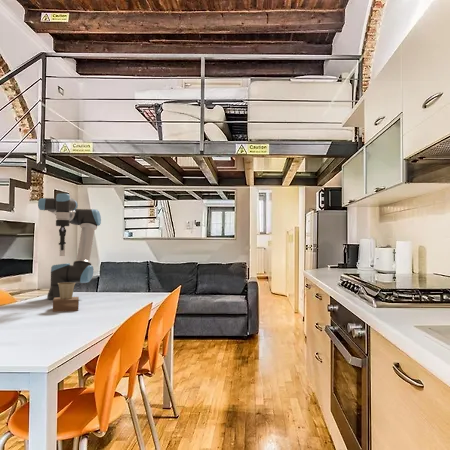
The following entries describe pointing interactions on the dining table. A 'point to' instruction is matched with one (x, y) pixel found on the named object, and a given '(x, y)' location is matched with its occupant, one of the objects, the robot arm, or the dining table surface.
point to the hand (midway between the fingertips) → (62, 255)
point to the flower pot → (66, 290)
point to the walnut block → (65, 304)
